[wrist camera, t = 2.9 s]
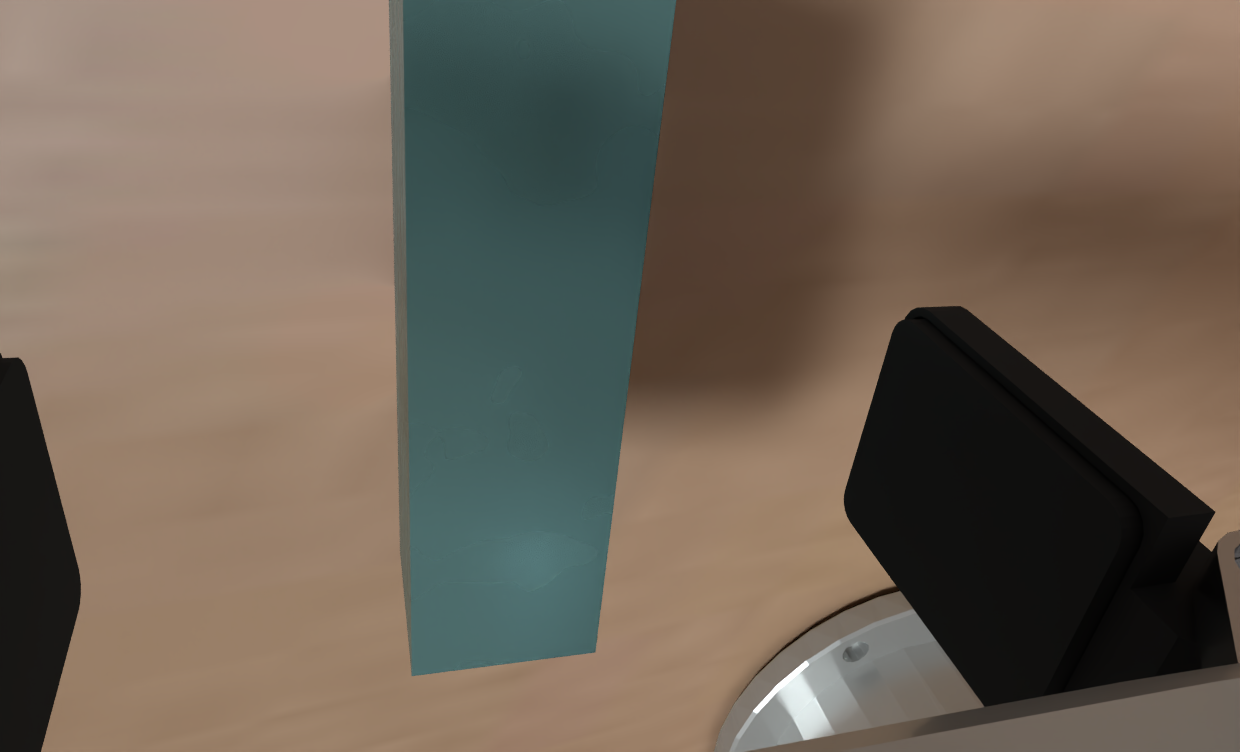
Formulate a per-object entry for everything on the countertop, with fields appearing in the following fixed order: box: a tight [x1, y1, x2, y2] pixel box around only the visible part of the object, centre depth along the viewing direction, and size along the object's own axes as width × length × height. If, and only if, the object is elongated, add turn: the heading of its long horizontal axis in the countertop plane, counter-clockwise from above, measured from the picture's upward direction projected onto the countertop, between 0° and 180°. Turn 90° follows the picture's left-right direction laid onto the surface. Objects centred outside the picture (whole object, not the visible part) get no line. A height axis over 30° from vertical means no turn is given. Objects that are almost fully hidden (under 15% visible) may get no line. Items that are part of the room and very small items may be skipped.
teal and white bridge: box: [389, 0, 676, 676], centre depth 16 cm, size 3×10×8 cm, turn 174°
